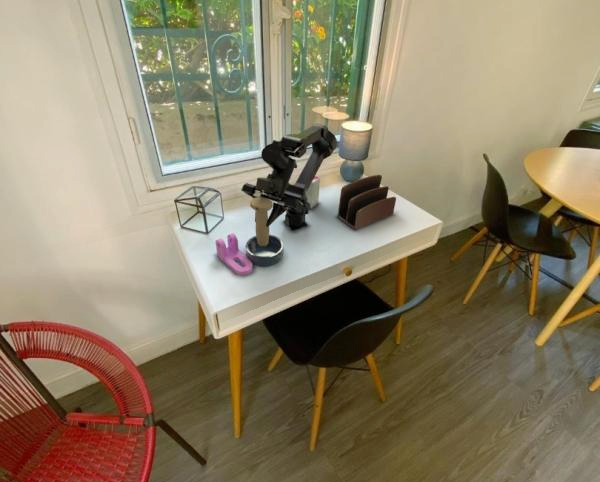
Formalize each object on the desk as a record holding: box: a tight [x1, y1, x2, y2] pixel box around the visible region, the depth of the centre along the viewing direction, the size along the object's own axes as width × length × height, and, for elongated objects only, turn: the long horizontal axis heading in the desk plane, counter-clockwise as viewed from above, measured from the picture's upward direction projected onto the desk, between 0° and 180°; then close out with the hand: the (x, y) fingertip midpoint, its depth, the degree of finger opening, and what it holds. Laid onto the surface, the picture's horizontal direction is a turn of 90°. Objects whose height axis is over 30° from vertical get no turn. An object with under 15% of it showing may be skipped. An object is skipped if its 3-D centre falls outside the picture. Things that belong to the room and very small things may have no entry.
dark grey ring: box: [245, 233, 284, 268], centre depth 104 cm, size 12×12×4 cm
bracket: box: [215, 232, 254, 276], centre depth 100 cm, size 13×6×7 cm, turn 42°
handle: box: [249, 198, 273, 247], centre depth 98 cm, size 5×6×15 cm
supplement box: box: [307, 175, 321, 210], centre depth 128 cm, size 6×6×12 cm
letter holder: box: [337, 174, 397, 231], centre depth 122 cm, size 10×20×14 cm, turn 124°
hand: (261, 224), depth 97 cm, fingers closed on handle, 3 cm apart
